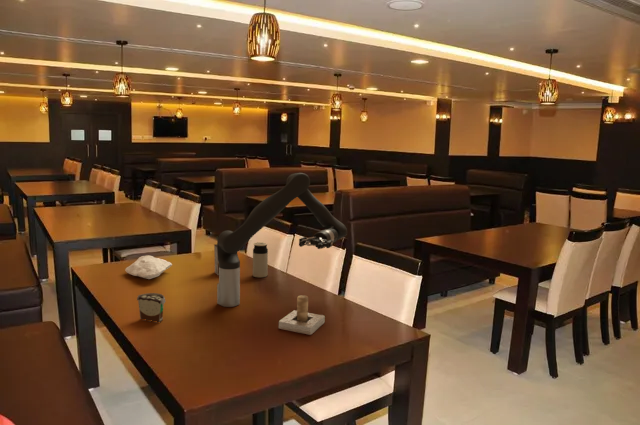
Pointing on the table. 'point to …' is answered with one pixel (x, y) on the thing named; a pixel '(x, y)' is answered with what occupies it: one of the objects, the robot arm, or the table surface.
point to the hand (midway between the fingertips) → (309, 245)
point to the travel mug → (260, 259)
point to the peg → (302, 308)
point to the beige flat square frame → (301, 323)
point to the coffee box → (216, 260)
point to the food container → (151, 306)
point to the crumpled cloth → (148, 267)
